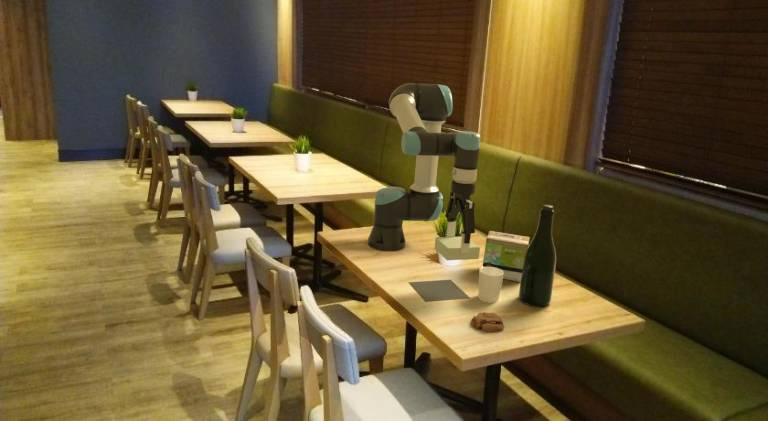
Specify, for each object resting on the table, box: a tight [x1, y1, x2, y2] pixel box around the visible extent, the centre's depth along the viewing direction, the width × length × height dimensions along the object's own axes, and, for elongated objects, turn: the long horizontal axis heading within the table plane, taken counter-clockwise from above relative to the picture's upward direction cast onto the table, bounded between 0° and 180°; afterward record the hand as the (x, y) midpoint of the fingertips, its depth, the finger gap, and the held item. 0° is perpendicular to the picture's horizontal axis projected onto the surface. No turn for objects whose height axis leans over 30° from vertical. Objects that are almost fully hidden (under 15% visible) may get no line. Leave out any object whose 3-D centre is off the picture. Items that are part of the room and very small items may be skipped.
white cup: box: [477, 266, 504, 304], centre depth 201 cm, size 8×8×10 cm
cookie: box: [470, 311, 505, 333], centre depth 184 cm, size 10×11×3 cm
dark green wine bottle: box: [518, 204, 557, 308], centre depth 199 cm, size 10×10×33 cm
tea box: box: [482, 230, 530, 283], centre depth 222 cm, size 15×10×15 cm, turn 74°
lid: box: [434, 236, 481, 261], centre depth 200 cm, size 11×11×4 cm
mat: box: [407, 279, 471, 303], centre depth 206 cm, size 16×16×1 cm
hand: (457, 246), depth 200 cm, fingers closed on lid, 11 cm apart
